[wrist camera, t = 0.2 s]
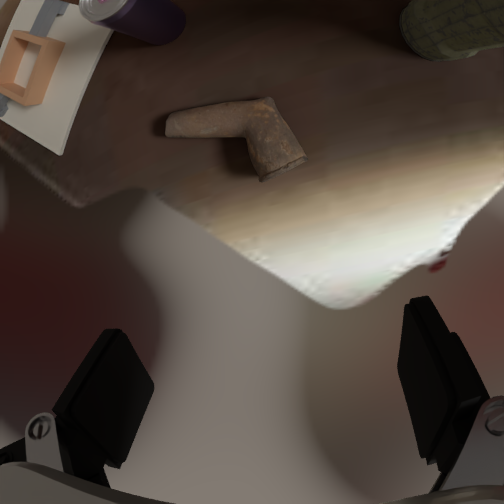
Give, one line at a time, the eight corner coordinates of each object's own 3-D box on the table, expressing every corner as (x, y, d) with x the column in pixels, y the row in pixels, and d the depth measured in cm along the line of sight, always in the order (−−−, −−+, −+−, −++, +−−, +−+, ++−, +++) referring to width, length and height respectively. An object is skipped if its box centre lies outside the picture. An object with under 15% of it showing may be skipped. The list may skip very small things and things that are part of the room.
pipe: (153, 104, 31) (159, 191, 33) (305, 89, 28) (310, 183, 31) (173, 111, 37) (178, 185, 39) (303, 100, 34) (307, 179, 37)
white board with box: (26, -5, 26) (8, -8, 21) (121, 17, 29) (103, 10, 25) (-15, 107, 35) (-33, 111, 31) (62, 154, 39) (42, 161, 34)
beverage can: (195, 29, 30) (145, -7, 17) (155, 54, 32) (89, 35, 18) (175, -3, 28) (121, -45, 14) (137, 22, 30) (69, -4, 16)
